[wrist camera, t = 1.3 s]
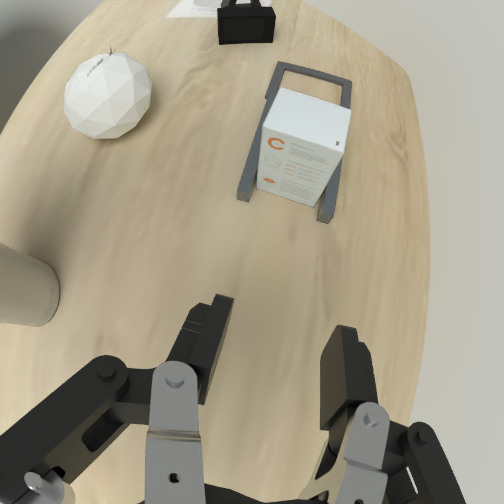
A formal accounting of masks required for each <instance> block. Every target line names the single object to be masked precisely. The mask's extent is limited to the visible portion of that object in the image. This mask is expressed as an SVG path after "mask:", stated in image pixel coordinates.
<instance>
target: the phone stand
mask: <svg viewBox="0 0 504 504" xmlns="http://www.w3.org/2000/svg"><path fill="white" fill-rule="evenodd" d="M236 1H237V0H223V1H222V3H221V8H223V7H225V6H229V5H233V6H237V7H261V4H260V2H259V0H250V1H251V3H246V4H236Z"/></svg>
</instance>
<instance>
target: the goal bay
mask: <svg viewBox="0 0 504 504" xmlns="http://www.w3.org/2000/svg"><path fill="white" fill-rule="evenodd" d="M284 70H287V71H292V72H296V73H300V74H304V75H307V76H311V77H315V78H318V79H322V80H325V81H329V82H332V83H335V84H339V85H342V86H343V87H342V96H341V105H340V106H342V107H344V108H347V109H350V101H351V88H352V81H350V80H347V79H344V78H340V77H337V76H334V75H331V74H327V73H324V72H320V71H317V70H313V69H309V68H306V67H302V66H298V65H294V64H289V63H285V62H280V61H278V63H277V66H276V68H275V71H274V74H273V76H272V79H271V82H270V85H269V87H268V90H267V93H266V96H265V98H266V99H268V97H269V94H270V91H274V92H277V91H278V88H279V85H280V82H281V79H282V76H283V73H284Z"/></svg>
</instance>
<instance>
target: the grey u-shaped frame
mask: <svg viewBox="0 0 504 504" xmlns="http://www.w3.org/2000/svg"><path fill="white" fill-rule="evenodd" d="M277 93H278V92H274V91H270V94H269V97H268V99H267V102H266V105H265V108H264V111H263V114H262V117H261V120H260V123H259V126H258V129H257V131H256V134H255V137H254V140H253V143H252V146H251V149H250V152H249V155H248V158H247V162H246V165H245V168H244V171H243V174H242V177H241V180H240V183H239V186H238V189H237V200H241V201H245V202H249V199H250V196H251V192H252V189H253V185H254V182H255V179H256V175H257V172H258V163H259V155H260V146H261V137H262V125H263V123H264V121H265V119H266V117H267V114H268V112H269V110H270V108H271V106H272V104H273V101H274V99H275V97H276V95H277ZM342 157H343V156H342ZM341 164H342V158H341V160H340V162H339V163H338V165H337V167H336V169H335V170H334V172H333V174H332V176H331V178H330V179H329V181H328V183H327V185H326V187H325V189H324V190H323V192H322V196H321V201H320V207H319V212H318V217H317V221H320V222H323V223H327V224H328V223H329V222H330V221H331V219H332V218H333V217H334V211H335V205H336V198H337V192H338V185H339V179H340V172H341Z"/></svg>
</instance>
